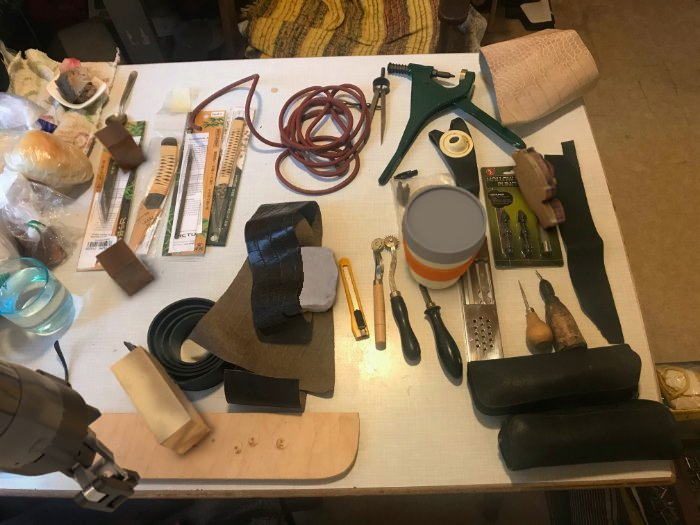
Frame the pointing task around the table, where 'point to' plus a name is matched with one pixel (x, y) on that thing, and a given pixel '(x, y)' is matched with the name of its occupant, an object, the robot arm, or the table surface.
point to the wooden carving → (538, 186)
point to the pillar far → (120, 146)
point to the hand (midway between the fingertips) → (111, 450)
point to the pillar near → (125, 267)
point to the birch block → (159, 401)
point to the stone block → (318, 279)
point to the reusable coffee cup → (442, 234)
